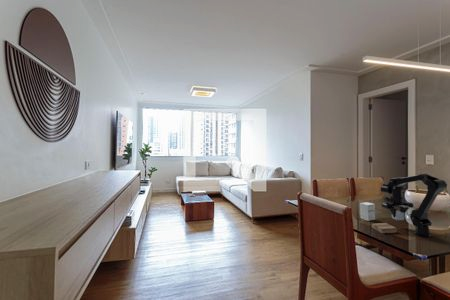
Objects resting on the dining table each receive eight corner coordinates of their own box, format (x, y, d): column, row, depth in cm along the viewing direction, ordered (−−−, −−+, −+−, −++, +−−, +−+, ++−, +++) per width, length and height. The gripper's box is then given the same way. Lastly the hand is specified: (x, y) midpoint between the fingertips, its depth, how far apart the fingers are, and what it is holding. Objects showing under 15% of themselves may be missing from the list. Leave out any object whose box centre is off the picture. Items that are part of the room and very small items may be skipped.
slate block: (404, 219, 157) (403, 212, 157) (397, 220, 157) (396, 213, 157) (398, 217, 162) (398, 210, 162) (391, 217, 162) (391, 211, 162)
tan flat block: (396, 232, 151) (396, 228, 151) (381, 233, 151) (381, 228, 151) (386, 227, 161) (386, 222, 161) (372, 227, 161) (372, 223, 161)
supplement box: (368, 221, 174) (367, 205, 174) (360, 218, 181) (359, 202, 181) (375, 219, 176) (374, 203, 176) (367, 217, 183) (366, 201, 183)
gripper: (401, 192, 167) (402, 212, 167) (376, 193, 167) (377, 214, 168) (413, 195, 156) (414, 217, 156) (386, 197, 156) (387, 219, 157)
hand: (397, 217), depth 160 cm, fingers closed on slate block, 5 cm apart
